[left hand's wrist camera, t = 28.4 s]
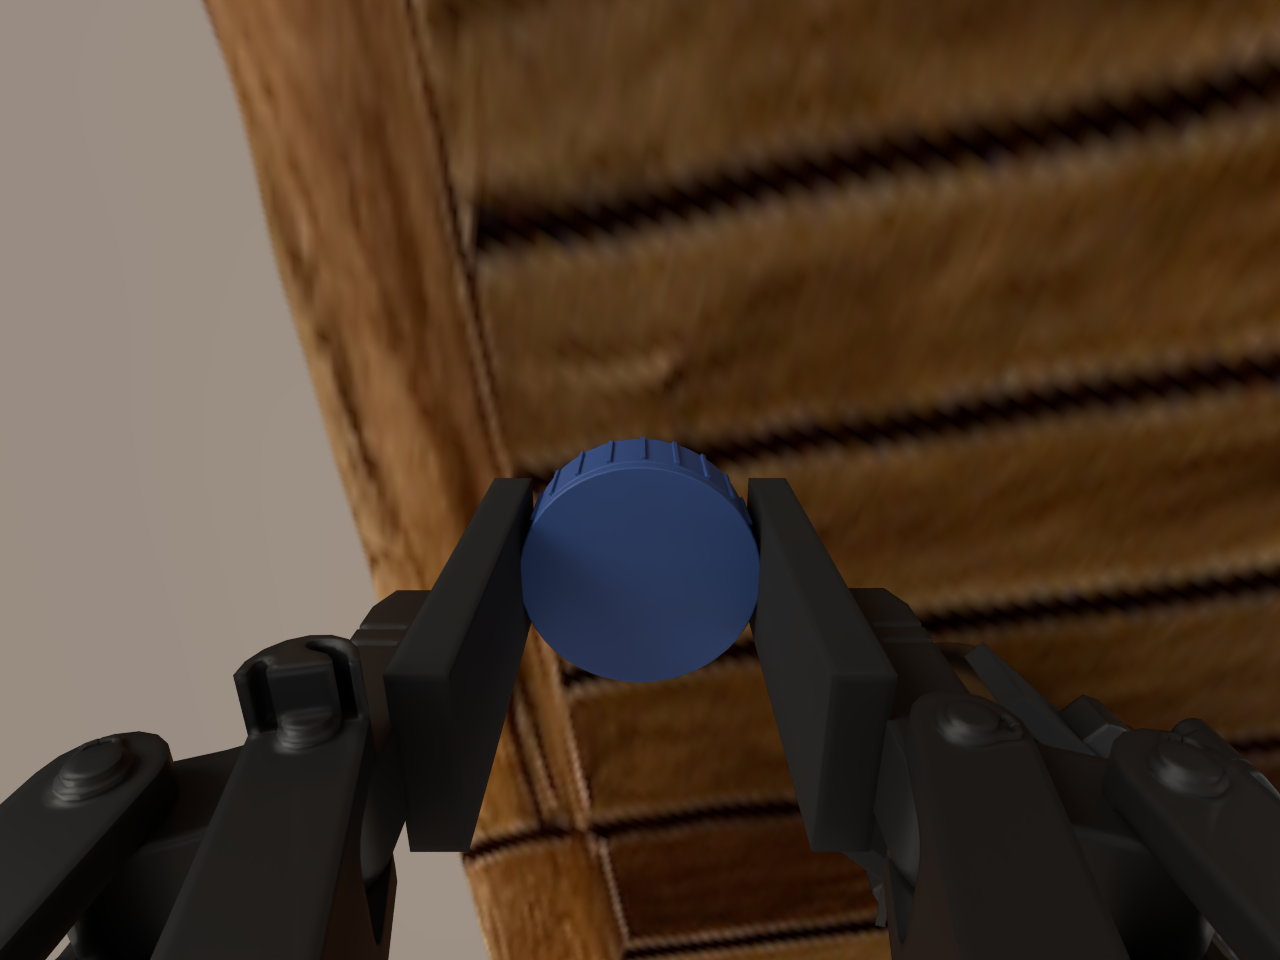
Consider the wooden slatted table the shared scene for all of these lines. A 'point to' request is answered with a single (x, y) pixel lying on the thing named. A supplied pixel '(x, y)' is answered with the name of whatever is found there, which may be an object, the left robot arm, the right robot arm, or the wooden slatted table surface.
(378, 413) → the wooden slatted table surface
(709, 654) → the cap
